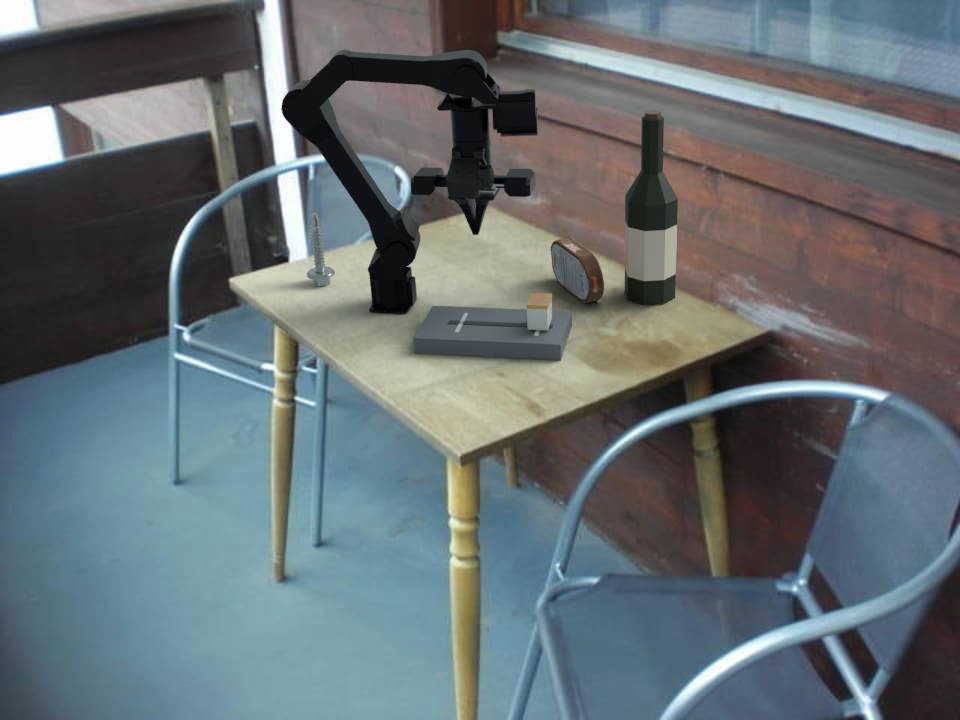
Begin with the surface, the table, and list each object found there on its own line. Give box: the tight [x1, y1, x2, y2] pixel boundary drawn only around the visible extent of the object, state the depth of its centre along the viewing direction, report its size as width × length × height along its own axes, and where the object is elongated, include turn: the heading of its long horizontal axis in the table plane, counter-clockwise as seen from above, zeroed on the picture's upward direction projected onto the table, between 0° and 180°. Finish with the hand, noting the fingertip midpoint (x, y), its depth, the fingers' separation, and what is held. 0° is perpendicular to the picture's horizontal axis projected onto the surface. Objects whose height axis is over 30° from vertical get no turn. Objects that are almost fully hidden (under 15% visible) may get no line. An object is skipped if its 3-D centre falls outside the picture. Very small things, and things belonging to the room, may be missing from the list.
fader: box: [525, 292, 553, 330], centre depth 171 cm, size 3×4×4 cm
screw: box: [306, 211, 336, 288], centre depth 195 cm, size 13×5×5 cm
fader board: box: [412, 305, 573, 361], centre depth 174 cm, size 22×12×3 cm, turn 78°
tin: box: [550, 236, 605, 304], centre depth 187 cm, size 15×3×8 cm, turn 22°
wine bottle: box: [624, 109, 679, 306], centre depth 180 cm, size 8×8×30 cm
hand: (476, 234), depth 181 cm, fingers closed
